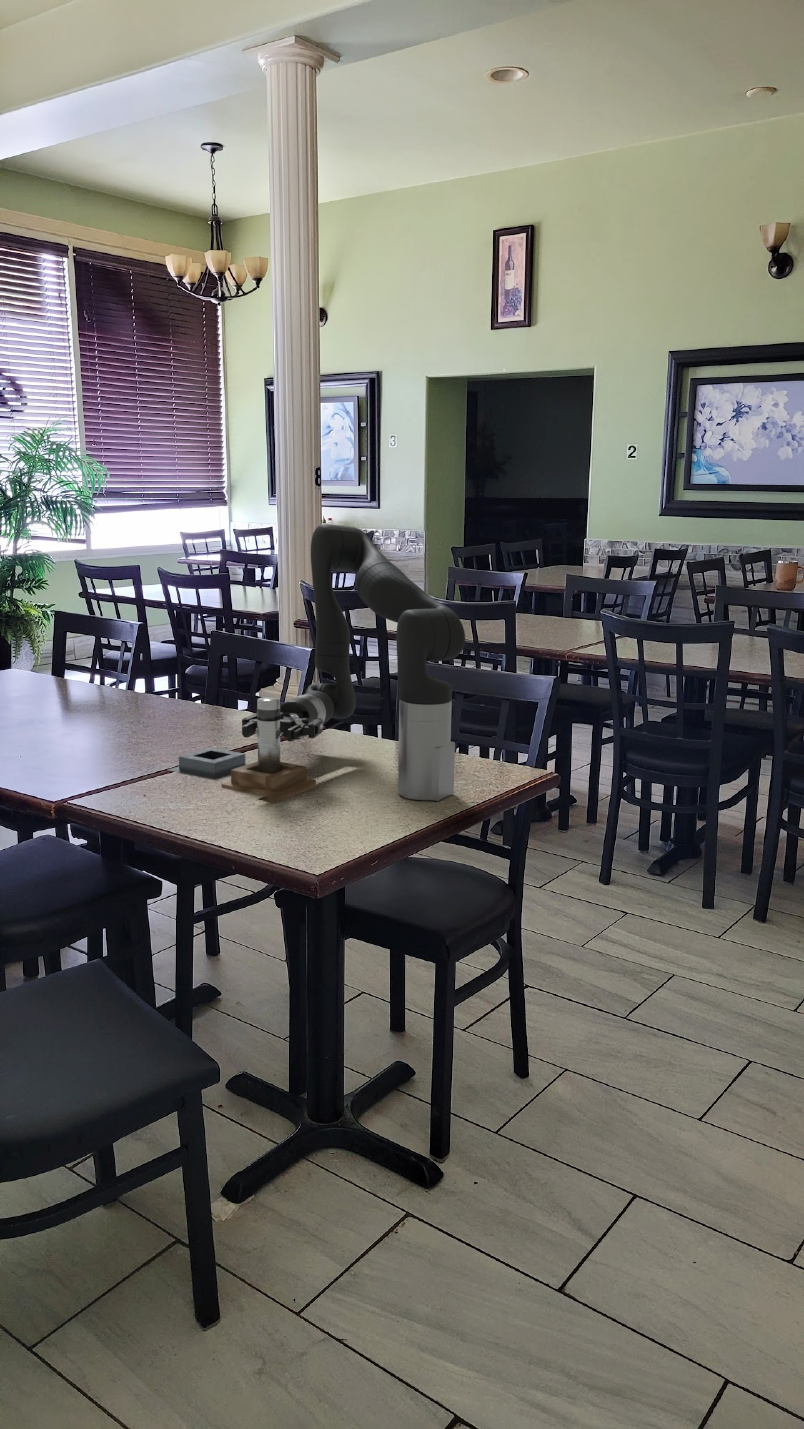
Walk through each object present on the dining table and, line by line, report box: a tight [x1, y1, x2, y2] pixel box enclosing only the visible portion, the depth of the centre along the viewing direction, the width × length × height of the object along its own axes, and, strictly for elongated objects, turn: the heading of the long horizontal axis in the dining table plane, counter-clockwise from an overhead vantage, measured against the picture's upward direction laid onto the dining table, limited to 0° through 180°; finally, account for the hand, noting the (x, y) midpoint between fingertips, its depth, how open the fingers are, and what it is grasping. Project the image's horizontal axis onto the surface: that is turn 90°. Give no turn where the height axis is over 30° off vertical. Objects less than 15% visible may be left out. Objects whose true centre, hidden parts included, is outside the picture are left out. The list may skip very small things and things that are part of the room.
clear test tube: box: [256, 697, 281, 774], centre depth 186 cm, size 4×4×15 cm
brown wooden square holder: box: [221, 760, 317, 804], centre depth 187 cm, size 12×12×4 cm
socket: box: [167, 747, 249, 781], centre depth 198 cm, size 12×12×4 cm
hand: (267, 733), depth 185 cm, fingers open, 8 cm apart
